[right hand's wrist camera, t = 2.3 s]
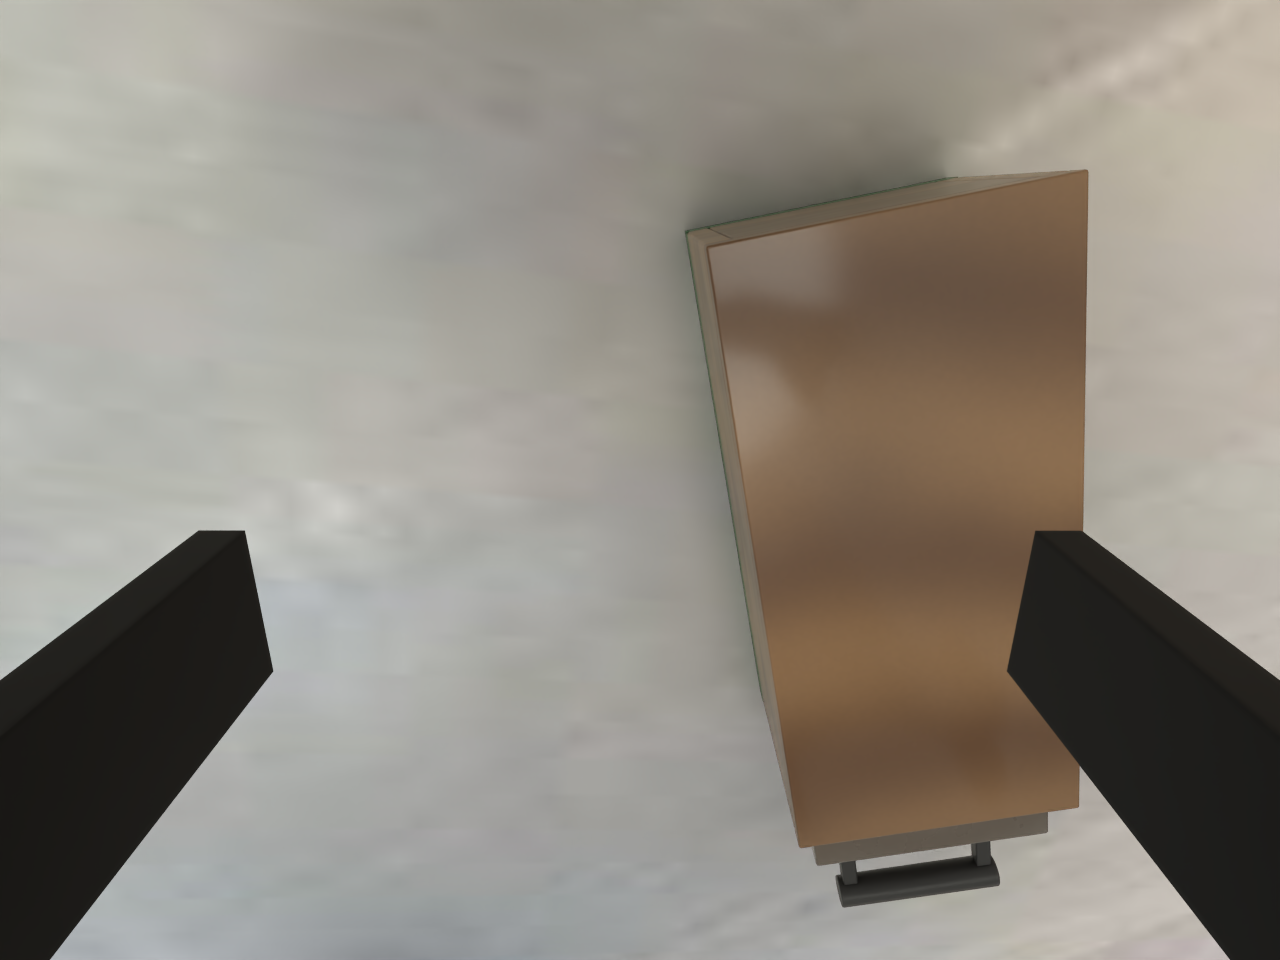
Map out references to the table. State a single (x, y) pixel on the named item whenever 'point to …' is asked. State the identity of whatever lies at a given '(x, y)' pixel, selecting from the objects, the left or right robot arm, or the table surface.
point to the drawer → (928, 874)
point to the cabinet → (900, 484)
